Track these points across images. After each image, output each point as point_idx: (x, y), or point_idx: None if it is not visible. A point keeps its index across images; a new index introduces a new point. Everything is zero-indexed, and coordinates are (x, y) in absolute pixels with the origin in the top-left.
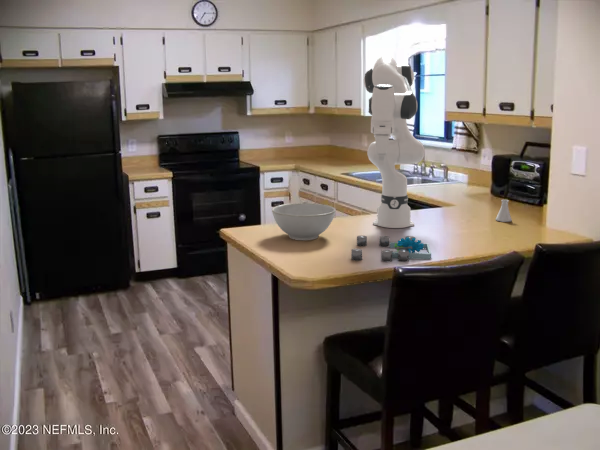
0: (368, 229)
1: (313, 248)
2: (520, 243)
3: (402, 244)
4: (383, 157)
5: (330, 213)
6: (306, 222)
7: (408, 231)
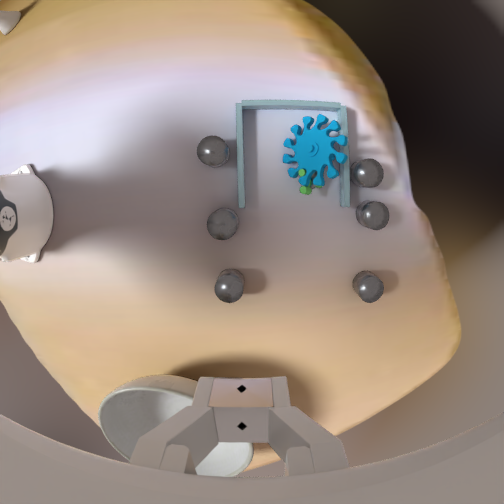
0: (73, 270)
1: None
2: None
3: (313, 172)
4: (327, 437)
5: None
6: None
7: (70, 169)
